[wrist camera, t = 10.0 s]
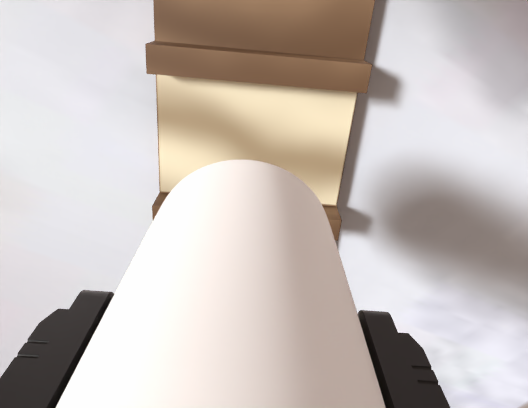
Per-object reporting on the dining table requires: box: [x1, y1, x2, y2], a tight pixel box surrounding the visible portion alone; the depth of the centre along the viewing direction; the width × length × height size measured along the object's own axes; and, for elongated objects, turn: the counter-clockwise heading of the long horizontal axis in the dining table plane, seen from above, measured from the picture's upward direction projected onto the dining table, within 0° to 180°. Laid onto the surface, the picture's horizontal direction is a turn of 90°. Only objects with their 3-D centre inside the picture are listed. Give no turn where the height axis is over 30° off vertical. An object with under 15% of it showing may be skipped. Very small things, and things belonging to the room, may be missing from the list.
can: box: [56, 160, 386, 408], centre depth 10 cm, size 6×6×12 cm
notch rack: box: [146, 0, 375, 240], centre depth 25 cm, size 30×12×3 cm, turn 175°
